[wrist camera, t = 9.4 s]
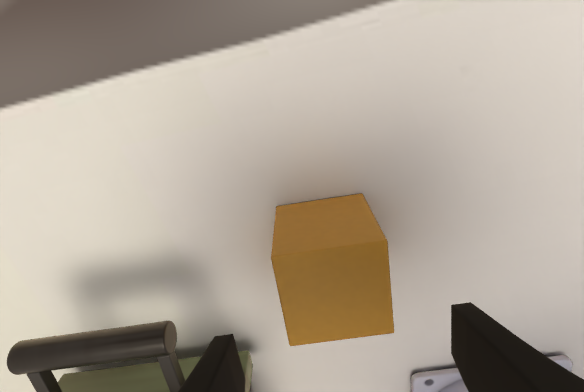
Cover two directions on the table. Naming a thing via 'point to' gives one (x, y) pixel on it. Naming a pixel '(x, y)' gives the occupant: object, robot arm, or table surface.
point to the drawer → (109, 360)
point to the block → (331, 270)
